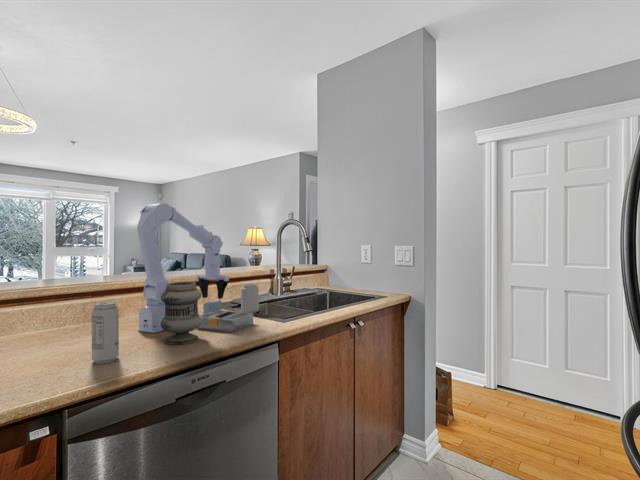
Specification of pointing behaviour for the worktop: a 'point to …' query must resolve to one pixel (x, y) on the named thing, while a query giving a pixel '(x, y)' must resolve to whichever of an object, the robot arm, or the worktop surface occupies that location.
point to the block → (212, 306)
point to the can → (250, 298)
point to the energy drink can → (105, 332)
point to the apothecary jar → (181, 312)
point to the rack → (226, 320)
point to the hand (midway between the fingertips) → (212, 298)
